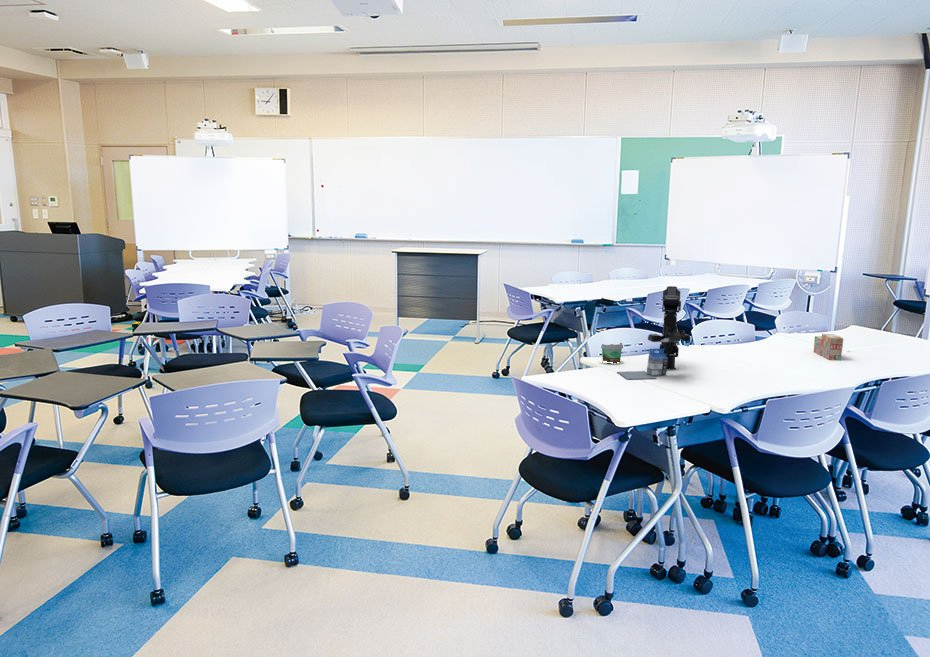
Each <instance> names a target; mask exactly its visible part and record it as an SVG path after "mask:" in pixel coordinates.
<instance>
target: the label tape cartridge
mask: <svg viewBox="0 0 930 657" xmlns="http://www.w3.org/2000/svg"><path fill="white" fill-rule="evenodd" d="M667 365H668V358H667V357H666V356H665V355H664V349H660V348H649V351H648V358H647V367H646V372H647V373H646V374H648V375H651V376H654V377H657V376H667V372H668V369H667Z"/></svg>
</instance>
